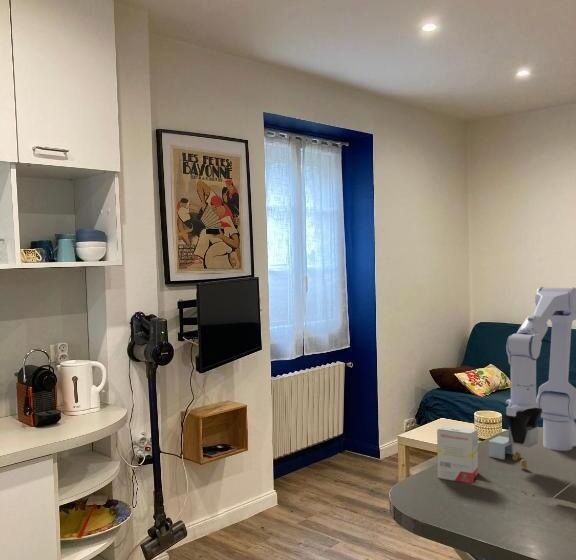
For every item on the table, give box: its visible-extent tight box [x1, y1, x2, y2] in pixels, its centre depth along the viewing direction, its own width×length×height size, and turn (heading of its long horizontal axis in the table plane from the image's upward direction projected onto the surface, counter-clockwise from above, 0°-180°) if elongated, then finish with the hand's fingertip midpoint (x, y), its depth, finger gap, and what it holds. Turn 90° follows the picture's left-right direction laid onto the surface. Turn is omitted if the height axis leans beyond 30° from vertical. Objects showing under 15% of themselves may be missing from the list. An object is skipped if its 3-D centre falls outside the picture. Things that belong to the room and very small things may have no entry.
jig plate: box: [512, 451, 528, 469], centre depth 153 cm, size 14×14×4 cm
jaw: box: [508, 425, 539, 449], centre depth 146 cm, size 5×5×4 cm
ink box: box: [436, 424, 479, 485], centre depth 144 cm, size 9×5×12 cm, turn 57°
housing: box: [488, 435, 515, 460], centre depth 157 cm, size 6×4×4 cm, turn 136°
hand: (523, 440), depth 146 cm, fingers closed on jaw, 5 cm apart
